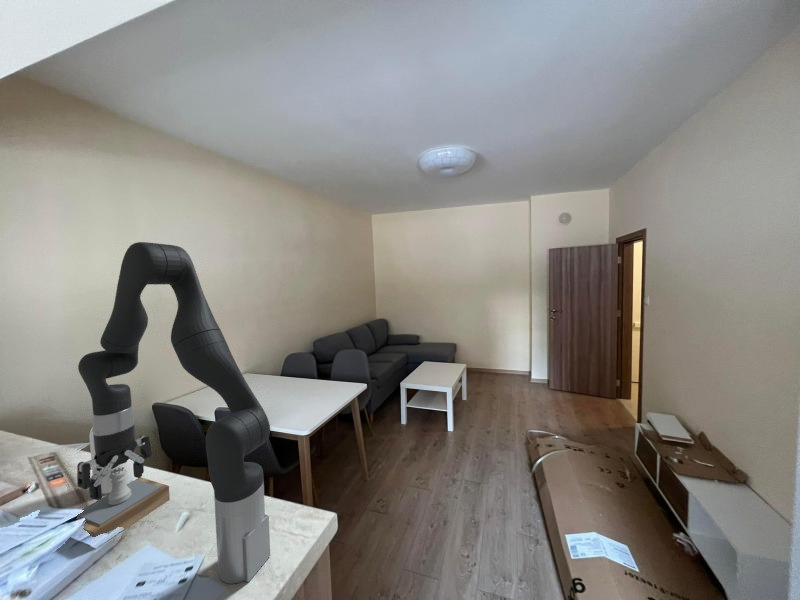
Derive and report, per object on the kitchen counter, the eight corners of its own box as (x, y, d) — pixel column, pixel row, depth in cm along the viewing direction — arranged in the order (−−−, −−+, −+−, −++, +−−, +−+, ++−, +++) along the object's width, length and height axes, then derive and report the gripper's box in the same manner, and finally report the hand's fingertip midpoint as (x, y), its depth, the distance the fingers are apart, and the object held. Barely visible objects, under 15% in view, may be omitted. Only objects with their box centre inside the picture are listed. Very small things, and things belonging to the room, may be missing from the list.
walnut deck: (169, 499, 82) (168, 485, 82) (95, 549, 67) (94, 532, 67) (141, 490, 86) (140, 477, 86) (64, 535, 71) (63, 519, 70)
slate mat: (160, 488, 81) (160, 486, 81) (100, 526, 68) (99, 524, 68) (136, 481, 84) (136, 479, 84) (74, 515, 72) (74, 513, 72)
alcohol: (99, 500, 82) (90, 395, 80) (90, 488, 87) (81, 389, 85) (139, 481, 90) (132, 385, 88) (129, 472, 94) (122, 380, 92)
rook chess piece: (128, 491, 79) (125, 462, 79) (134, 497, 77) (132, 468, 76) (105, 502, 75) (102, 472, 75) (111, 508, 73) (108, 478, 72)
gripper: (86, 444, 67) (91, 511, 68) (155, 416, 80) (159, 472, 81) (66, 438, 69) (72, 503, 70) (137, 412, 83) (141, 467, 84)
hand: (119, 487), depth 76 cm, fingers open, 8 cm apart
